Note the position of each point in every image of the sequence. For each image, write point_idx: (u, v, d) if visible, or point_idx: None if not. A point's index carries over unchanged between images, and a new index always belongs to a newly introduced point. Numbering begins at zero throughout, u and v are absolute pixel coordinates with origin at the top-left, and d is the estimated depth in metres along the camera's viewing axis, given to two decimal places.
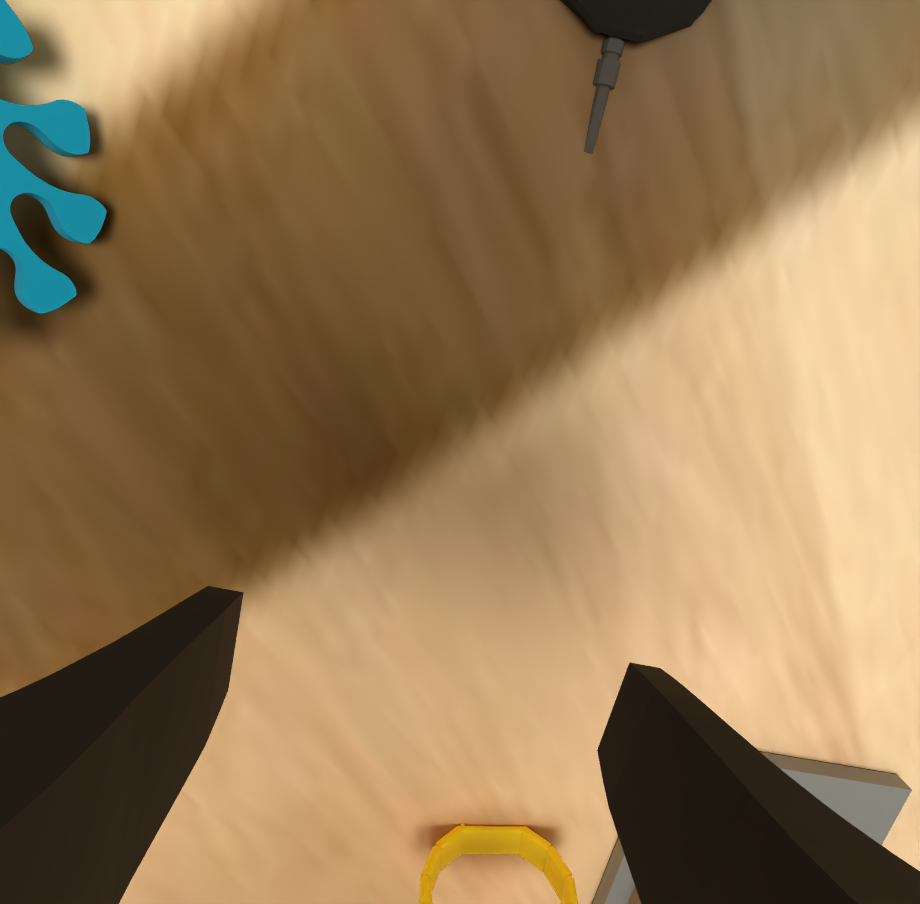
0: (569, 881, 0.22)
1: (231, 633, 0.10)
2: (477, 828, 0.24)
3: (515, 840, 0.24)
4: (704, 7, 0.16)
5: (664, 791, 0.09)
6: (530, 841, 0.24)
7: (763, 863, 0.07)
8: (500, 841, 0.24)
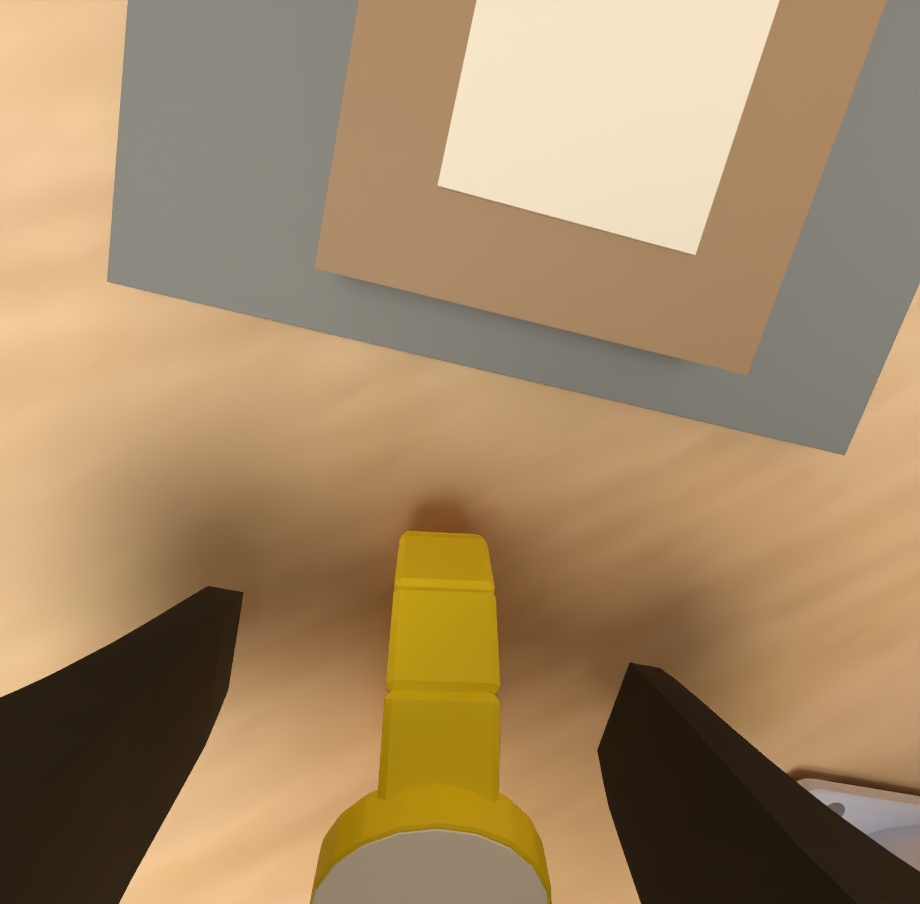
0: None
1: (231, 633, 0.10)
2: None
3: None
4: None
5: (664, 791, 0.09)
6: None
7: (763, 863, 0.07)
8: None
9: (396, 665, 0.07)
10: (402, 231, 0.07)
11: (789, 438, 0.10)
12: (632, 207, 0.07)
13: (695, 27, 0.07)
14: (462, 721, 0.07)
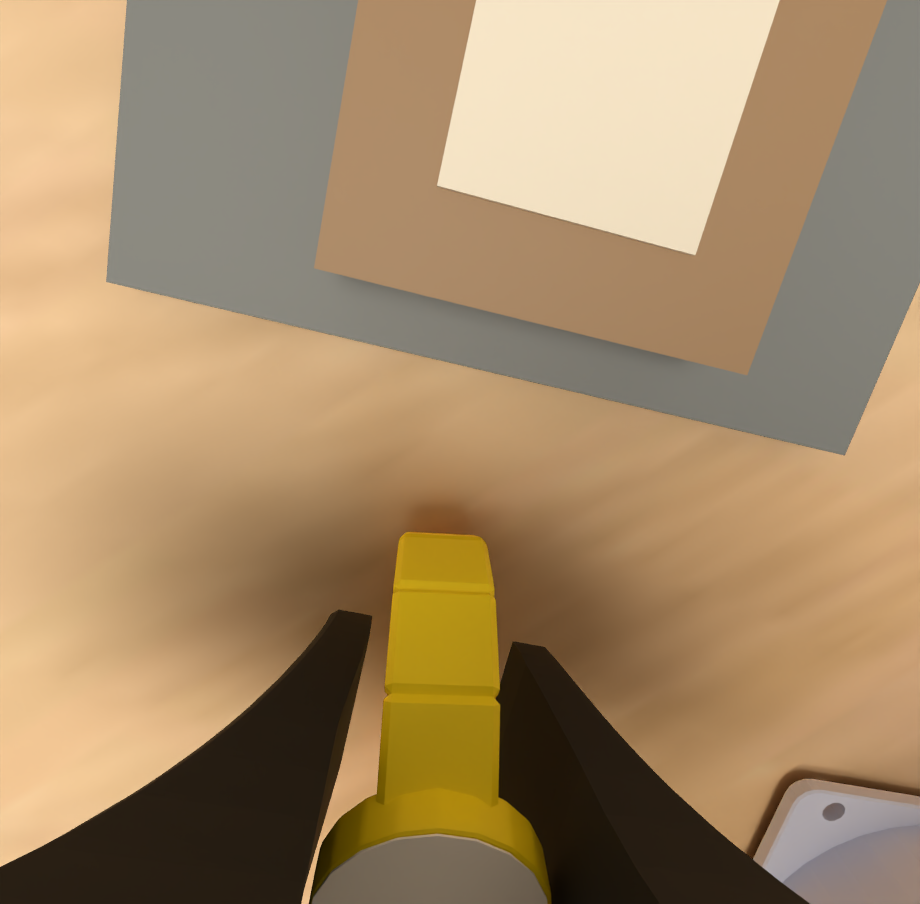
0: None
1: None
2: None
3: None
4: None
5: (524, 769, 0.09)
6: None
7: (583, 837, 0.06)
8: None
9: (395, 668, 0.07)
10: (402, 231, 0.07)
11: (789, 438, 0.10)
12: (632, 207, 0.07)
13: (695, 27, 0.07)
14: (462, 725, 0.07)
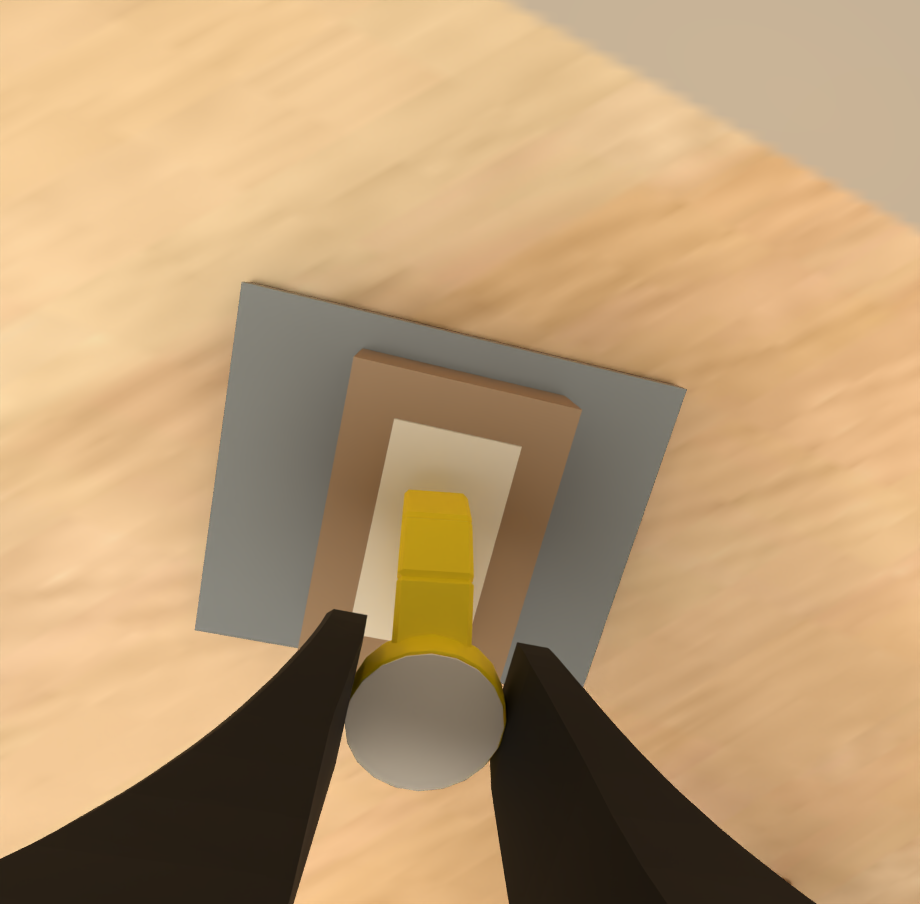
0: None
1: None
2: None
3: None
4: None
5: (529, 770, 0.09)
6: None
7: (589, 838, 0.07)
8: None
9: (404, 560, 0.10)
10: None
11: None
12: None
13: None
14: (448, 595, 0.10)
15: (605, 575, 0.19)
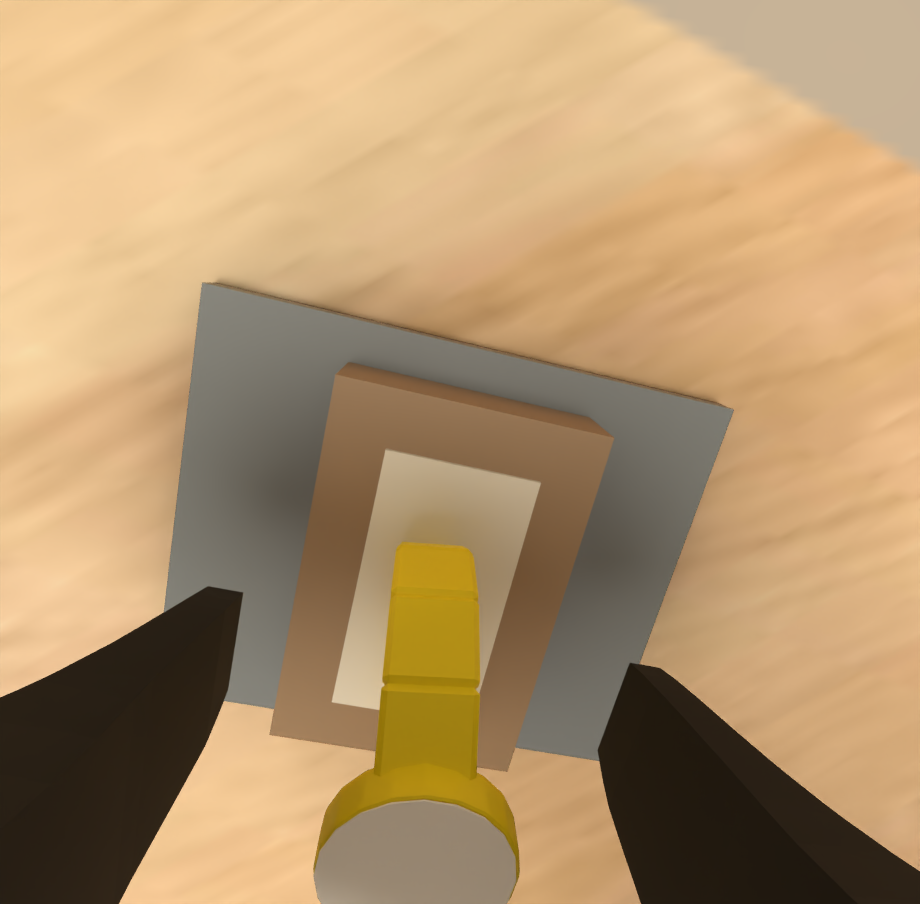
0: None
1: (231, 633, 0.10)
2: None
3: None
4: None
5: (664, 791, 0.09)
6: None
7: (763, 863, 0.07)
8: None
9: (391, 662, 0.08)
10: (315, 718, 0.14)
11: (567, 753, 0.17)
12: None
13: None
14: (447, 710, 0.08)
15: (634, 624, 0.16)
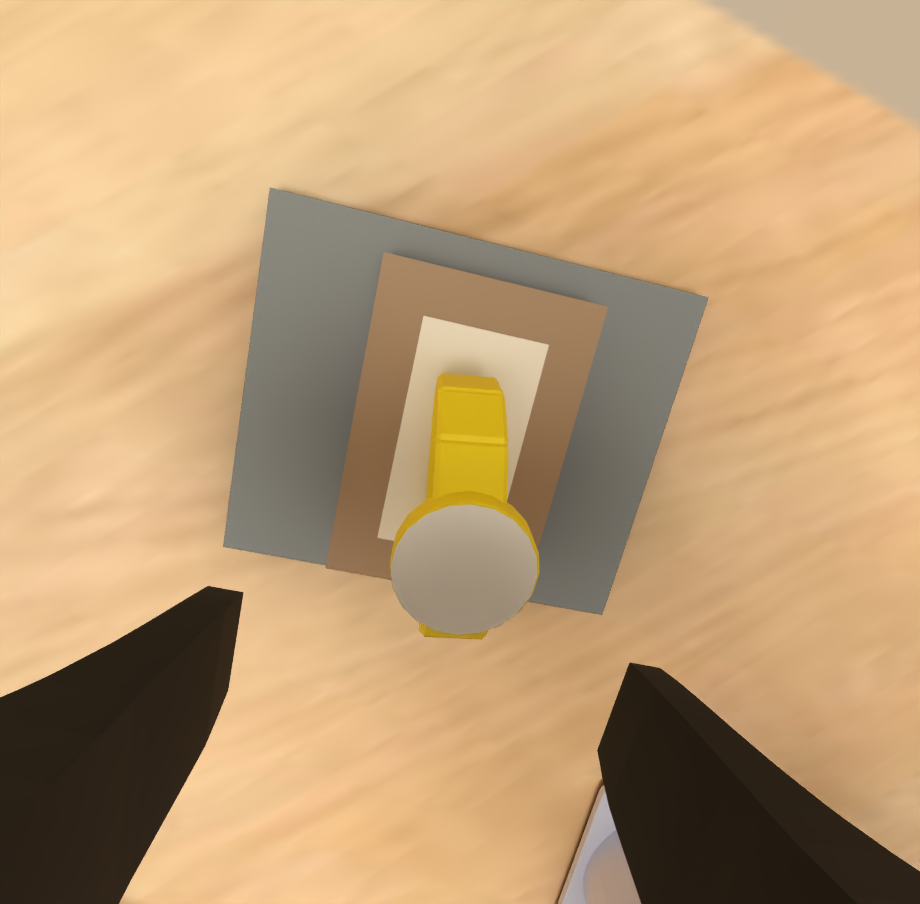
0: (437, 384, 0.13)
1: (231, 633, 0.10)
2: (426, 492, 0.16)
3: None
4: None
5: (664, 791, 0.09)
6: None
7: (763, 863, 0.07)
8: None
9: (442, 427, 0.11)
10: (363, 553, 0.17)
11: (571, 607, 0.20)
12: None
13: None
14: (485, 457, 0.11)
15: (627, 489, 0.19)
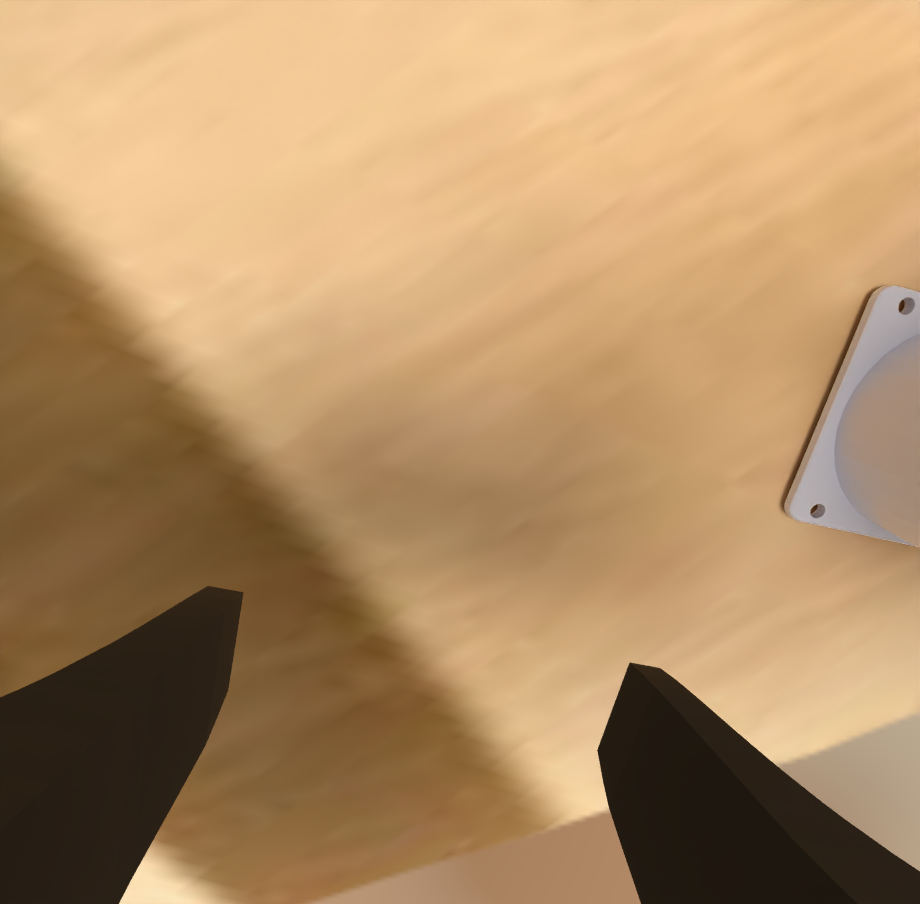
0: None
1: (231, 633, 0.10)
2: None
3: None
4: None
5: (664, 791, 0.09)
6: None
7: (763, 863, 0.07)
8: None
9: None
10: None
11: None
12: None
13: None
14: None
15: None
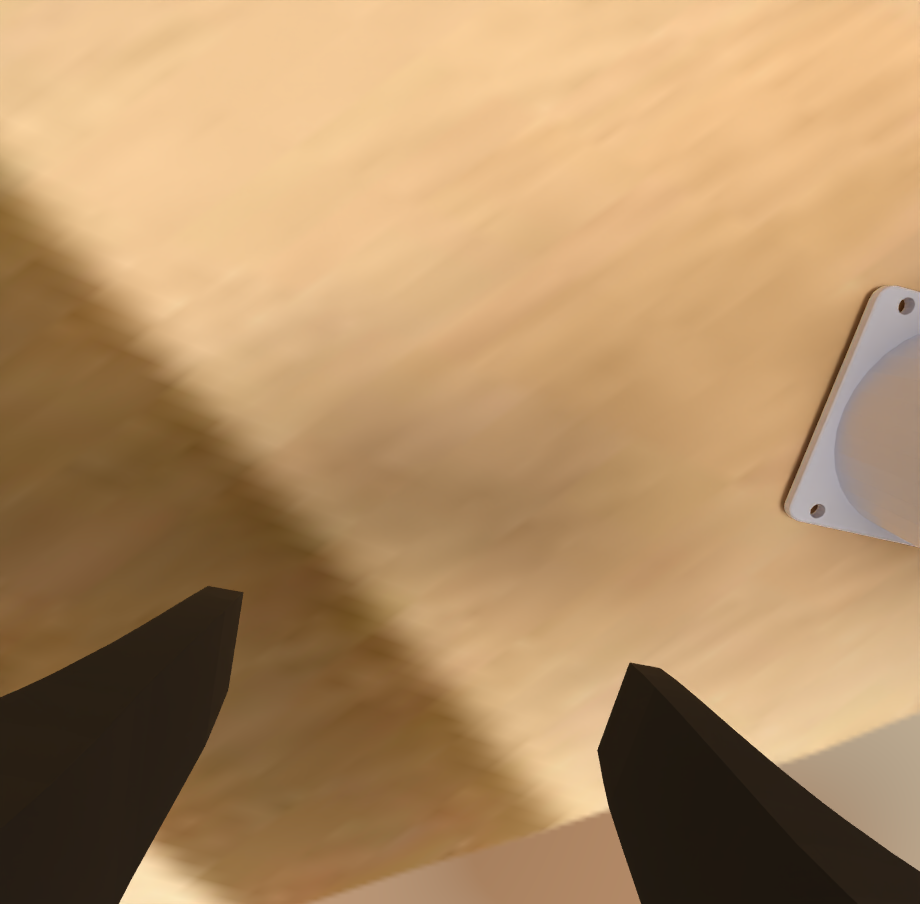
0: None
1: (231, 633, 0.10)
2: None
3: None
4: None
5: (664, 791, 0.09)
6: None
7: (763, 863, 0.07)
8: None
9: None
10: None
11: None
12: None
13: None
14: None
15: None
